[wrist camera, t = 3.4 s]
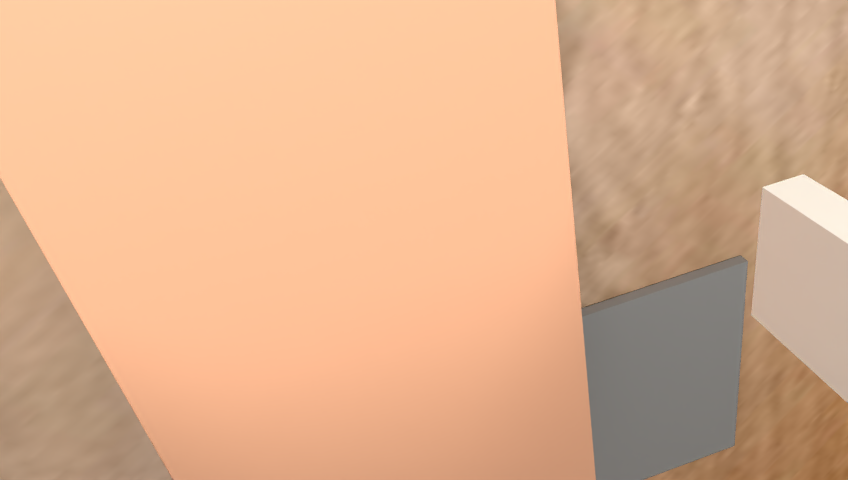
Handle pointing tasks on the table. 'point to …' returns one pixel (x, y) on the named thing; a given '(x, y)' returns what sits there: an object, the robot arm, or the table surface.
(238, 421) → the lid
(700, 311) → the felt mat
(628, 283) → the table surface
